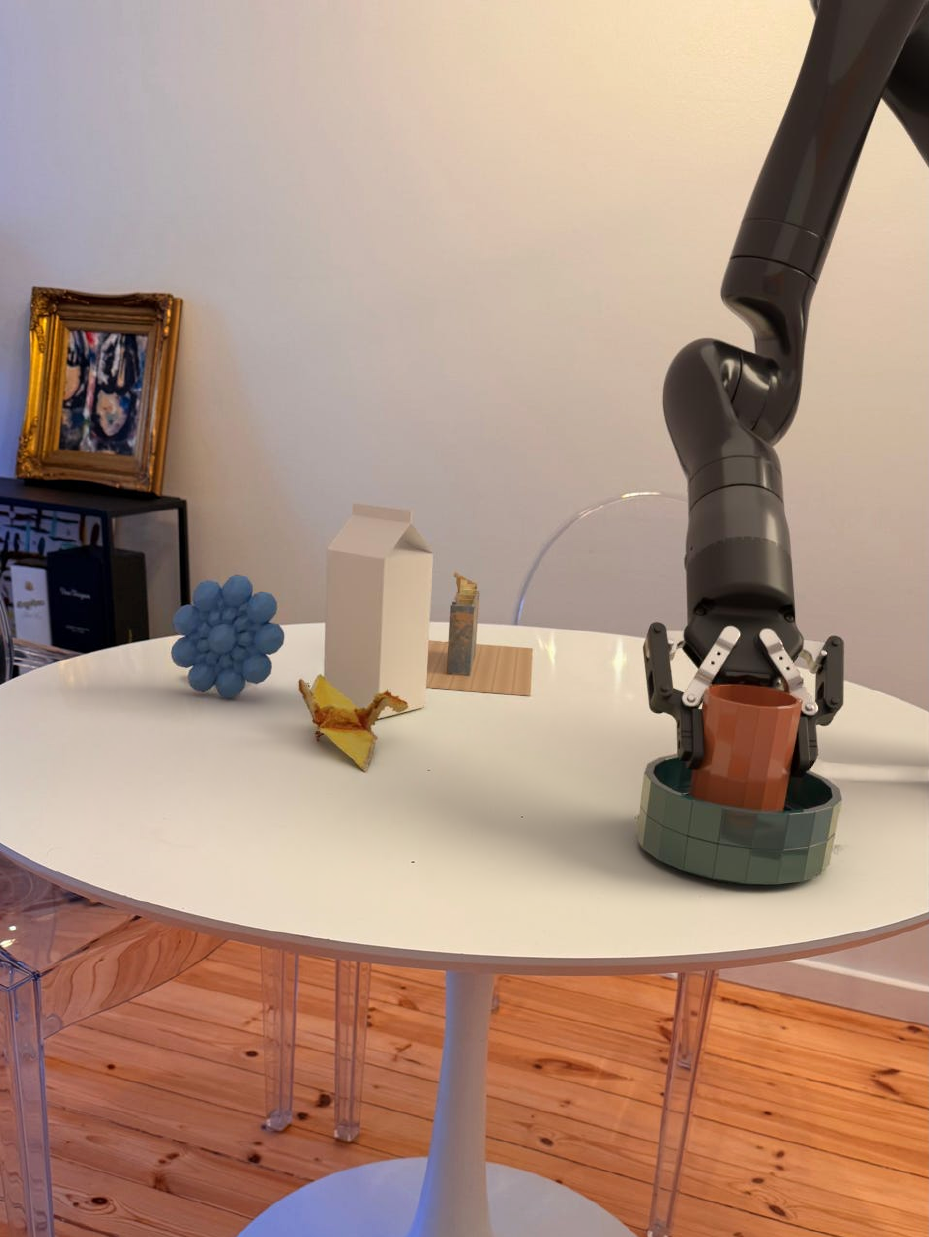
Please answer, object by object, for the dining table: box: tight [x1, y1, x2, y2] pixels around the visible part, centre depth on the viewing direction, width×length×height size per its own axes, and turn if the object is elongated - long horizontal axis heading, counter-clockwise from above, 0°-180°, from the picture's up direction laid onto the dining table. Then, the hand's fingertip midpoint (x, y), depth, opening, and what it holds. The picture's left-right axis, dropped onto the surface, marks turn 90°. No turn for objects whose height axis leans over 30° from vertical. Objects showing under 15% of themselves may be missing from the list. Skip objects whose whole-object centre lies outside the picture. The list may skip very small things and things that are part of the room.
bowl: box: [635, 753, 843, 886], centre depth 80 cm, size 13×13×6 cm
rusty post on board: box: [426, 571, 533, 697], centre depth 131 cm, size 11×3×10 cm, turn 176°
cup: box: [689, 683, 803, 811], centre depth 78 cm, size 6×6×9 cm
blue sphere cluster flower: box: [170, 574, 285, 699], centre depth 110 cm, size 12×7×12 cm, turn 76°
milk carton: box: [323, 502, 434, 720], centre depth 108 cm, size 7×7×19 cm
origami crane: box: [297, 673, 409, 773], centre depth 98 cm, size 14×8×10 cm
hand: (748, 768), depth 77 cm, fingers closed on cup, 6 cm apart
